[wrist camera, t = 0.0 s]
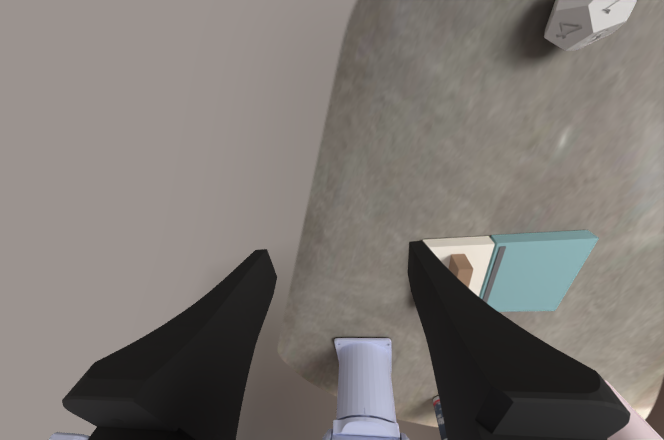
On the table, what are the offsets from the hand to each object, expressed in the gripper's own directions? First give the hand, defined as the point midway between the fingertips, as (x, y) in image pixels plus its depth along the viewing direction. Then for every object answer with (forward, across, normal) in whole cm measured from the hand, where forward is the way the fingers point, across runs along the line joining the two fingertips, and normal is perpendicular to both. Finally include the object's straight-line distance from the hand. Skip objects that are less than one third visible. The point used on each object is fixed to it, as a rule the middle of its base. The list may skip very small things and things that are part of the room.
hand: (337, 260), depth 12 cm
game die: (+10, -14, -9) cm, 20 cm away
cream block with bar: (+10, -10, +12) cm, 19 cm away
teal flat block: (+10, -17, +12) cm, 23 cm away
